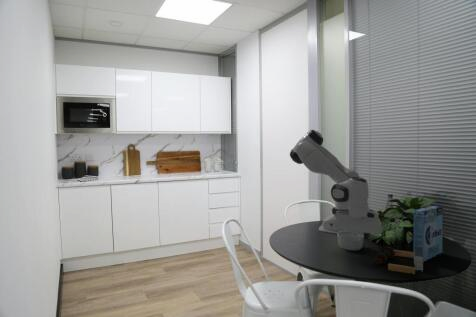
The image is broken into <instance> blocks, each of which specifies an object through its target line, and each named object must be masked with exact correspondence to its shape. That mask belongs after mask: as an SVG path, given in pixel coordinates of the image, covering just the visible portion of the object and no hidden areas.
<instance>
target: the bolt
mask: <svg viewBox="0 0 476 317" xmlns="http://www.w3.org/2000/svg"><path fill="white" fill-rule="evenodd" d="M394 250H395V249H394V248H393V247H391V246H384V247H383V249H382V250H381V252H378V254H376V256H375V257H374V263H375V264H376V265H379V266H380V265H385V264H386V262H387V261H388V259H392V258H393V257H395V256H394V254H395V252H394Z"/></svg>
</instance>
